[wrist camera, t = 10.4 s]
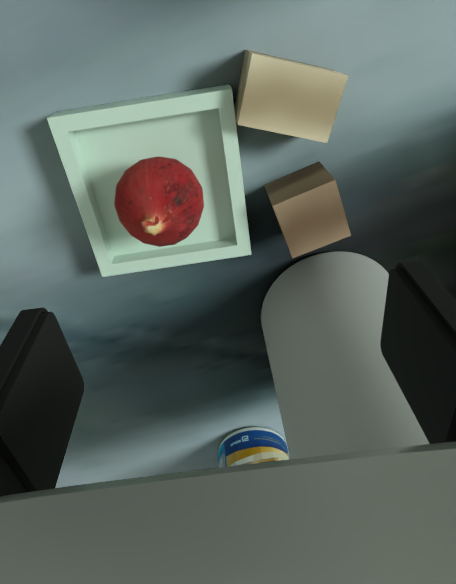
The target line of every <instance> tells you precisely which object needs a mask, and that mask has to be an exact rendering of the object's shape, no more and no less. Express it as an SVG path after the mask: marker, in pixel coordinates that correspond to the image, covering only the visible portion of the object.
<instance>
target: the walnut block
mask: <svg viewBox="0 0 456 584" xmlns="http://www.w3.org/2000/svg"><path fill="white" fill-rule="evenodd" d="M264 186H265V189H266V192H267V194H268V197H269V199H270V202H271V205H272V207H273V210H274V213H275V215H276V218H277V220H278V223H279V226H280V228H281V231H282V233H283V236H284V238H285V241H286V243H287V246H288V248H289V251H290V253H291V255H292V258H295V257H297V256H300V255H302V254H305V253H307V252H310V251H313V250H315V249H318V248H320V247H323V246H325V245H328V244H330V243H333V242H336V241H338V240H341V239H343V238H346V237H348V236H351V234H350V230H349V227H348V223H347V220H346V216H345V213H344V209H343V205H342V202H341V198H340V195H339V191H338V188H337V184H336V181H335V179H334V178H333V177H332V176H331V174H330V173H329V172H328V171H327V170H326V169H325V168H324V167H323V165H322V164H321V163H320V162H317V163H315V164H313V165H310V166H308V167H305V168H303V169H301V170H298V171H296V172H294V173H291V174H289V175H287V176H284V177H282V178H280V179H277V180H275V181H273V182H270V183H268V184H266V185H264Z"/></svg>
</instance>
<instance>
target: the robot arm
mask: <svg viewBox="0 0 456 584" xmlns="http://www.w3.org/2000/svg"><path fill="white" fill-rule="evenodd" d="M380 347H381V352H382V355H383V357H384V359H385V360H386V362H387V364H388V366H389V368H390V370H391V372H392V374H393V376H394V377H395V379H396V381H397V383H398V385H399V387H400V389H401V391H402V393H403V394H404V396H405V398H406V400H407V402H408V404H409V406H410V408H411V410H412V411H413V413H414V415H415V417H416V419H417V421H418V423H419V425H420V426H421V428H422V430H423V432H424V434H425V436H426V438H427V440H428V442H429V443H430V444H425V445H414V446H404V447H394V448H384V449H376V450H367V451H358V452H349V453H341V454H332V455H323V456H314V457H306V458H297V459H288V460H280V461H271V462H263V463H255V464H246V465H238V466H229V467H221V468H213V469H204V470H196V471H188V472H180V473H171V474H163V475H155V476H147V477H139V478H131V479H123V480H115V481H107V482H99V483H91V484H83V485H75V486H68V487H61V488H55V486H56V483H57V479H58V476H59V473H60V469H61V466H62V463H63V459H64V456H65V453H66V449H67V446H68V442H69V439H70V436H71V432H72V429H73V426H74V422H75V419H76V415H77V412H78V409H79V405H80V402H81V399H82V395H83V392H84V382H83V378H82V376H81V374H80V371H79V369H78V367H77V365H76V362H75V360H74V358H73V356H72V353H71V351H70V349H69V346H68V344H67V342H66V340H65V337H64V335H63V333H62V330H61V328H60V326H59V324H58V321H57V319H56V317H55V315H54V313H52V312H48V311H47V310H46V309H45V308H36V309H28V310H22V311H21V312H20V313H19V315H18V316H17V318H16V320H15V322H14V323H13V325H12V327H11V328H10V330H9V332H8V334H7V335H6V337H5V339H4V340H3V342H2V344H1V346H0V584H456V300H455V299H454V298H453V296H452V295H451V294H450V293H449V292H448V291H447V290H446V288H445V287H444V286H443V285H442V284H441V283H440V282H439V280H438V279H437V278H436V277H435V276H434V275H433V274H432V273H431V271H430V270H429V269H428V268H427V267H426V266H425V265H424V263H423V262H421V261H419V260H418V261H410V262H402V263H398V264H397V265H396V267H395V269H391V270H390V272H389V278H388V286H387V294H386V302H385V309H384V317H383V325H382V333H381V341H380Z"/></svg>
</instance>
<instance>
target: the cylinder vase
mask: <svg viewBox="0 0 456 584" xmlns="http://www.w3.org/2000/svg"><path fill="white" fill-rule="evenodd" d="M388 278H389V274H388V273H387V271H386V270H385V269H384V268H383V267H382V266H381V265H379V264H378V263H377V262H375V261H374V260H372V259H370V258H368V257H366V256H363V255H360V254H357V253H352V252H344V251H334V252H325V253H320V254H316V255H313V256H310V257H308V258H305V259H303V260H301V261H299V262H297V263H295V264H294V265H292V266H291V267H289V268H288V269H287V270H285V271H284V272H283V273H282V274H281V275H280V276H279V277H278V278H277V279H276V280H275V282H274V283H273V284H272V286H271V287H270V289H269V290H268V292H267V294H266V296H265V299H264V302H263V305H262V310H261V324H262V329H263V334H264V339H265V343H266V348H267V353H268V357H269V362H270V367H271V371H272V376H273V381H274V385H275V390H276V395H277V399H278V404H279V409H280V413H281V418H282V423H283V427H284V432H285V437H286V441H287V446H288V451H289V455H290V459H297V458H306V457H314V456H323V455H332V454H341V453H349V452H358V451H367V450H376V449H384V448H394V447H404V446H414V445H425V444H430V443H429V442H428V440H427V438H426V436H425V434H424V432H423V430H422V428H421V426H420V425H419V423H418V421H417V419H416V417H415V415H414V413H413V411H412V410H411V408H410V406H409V404H408V402H407V400H406V398H405V396H404V394H403V393H402V391H401V389H400V387H399V385H398V383H397V381H396V379H395V377H394V376H393V374H392V372H391V370H390V368H389V366H388V364H387V362H386V360H385V359H384V357H383V355H382V352H381V347H380V341H381V333H382V325H383V317H384V309H385V302H386V294H387V286H388Z"/></svg>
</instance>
